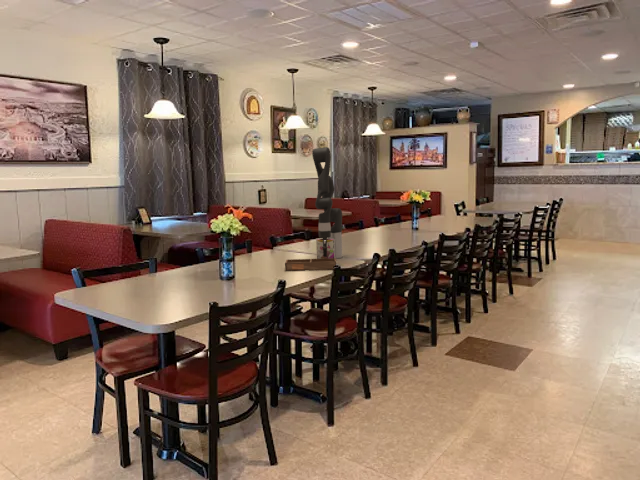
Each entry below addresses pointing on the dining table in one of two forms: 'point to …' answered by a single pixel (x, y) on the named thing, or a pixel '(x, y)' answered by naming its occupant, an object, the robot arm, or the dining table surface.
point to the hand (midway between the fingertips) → (325, 255)
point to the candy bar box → (329, 250)
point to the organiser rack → (310, 264)
